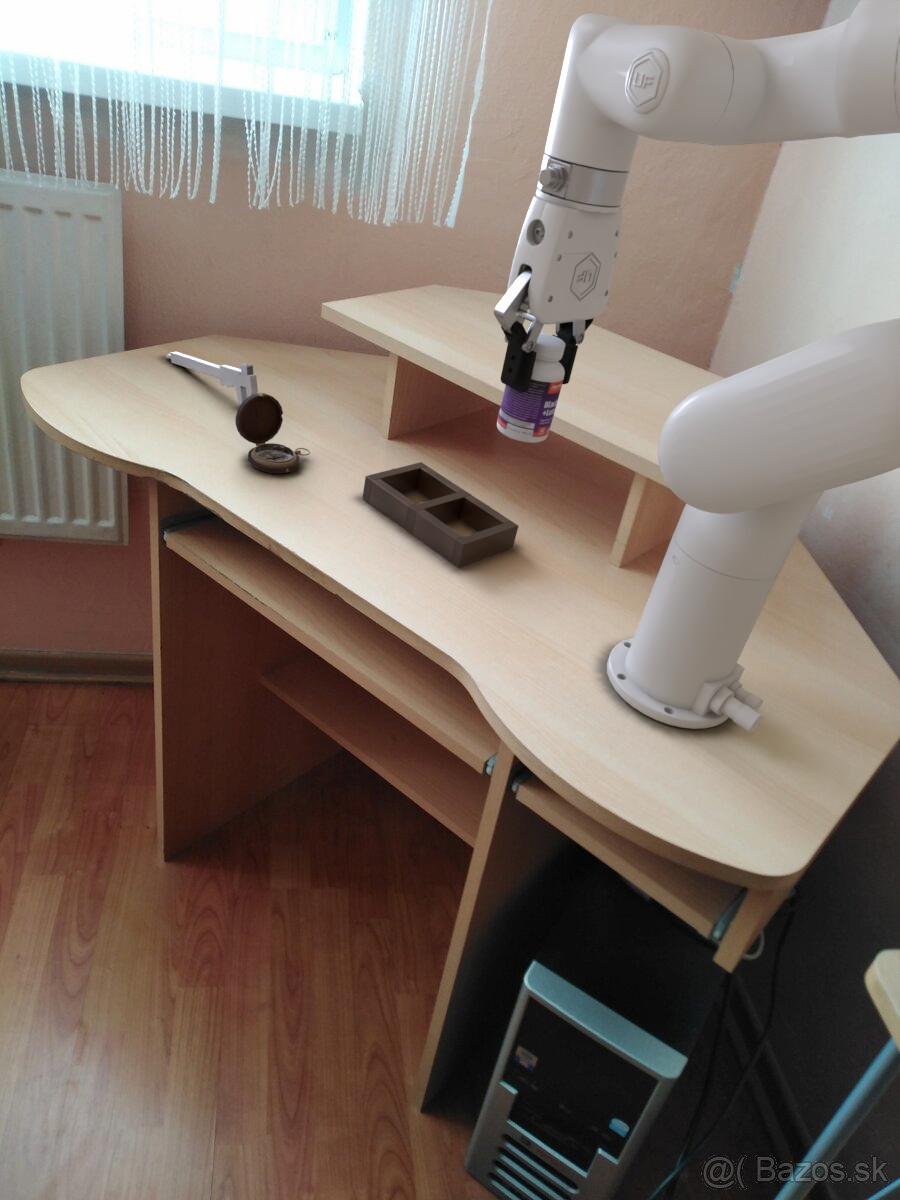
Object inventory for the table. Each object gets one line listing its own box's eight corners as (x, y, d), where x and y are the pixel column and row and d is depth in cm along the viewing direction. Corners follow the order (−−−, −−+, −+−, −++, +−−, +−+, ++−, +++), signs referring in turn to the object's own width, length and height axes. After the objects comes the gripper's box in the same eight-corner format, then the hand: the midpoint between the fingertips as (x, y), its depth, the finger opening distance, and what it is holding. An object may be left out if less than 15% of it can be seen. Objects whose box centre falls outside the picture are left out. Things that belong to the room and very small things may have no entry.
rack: (512, 547, 102) (518, 525, 100) (458, 568, 96) (463, 544, 95) (417, 483, 111) (421, 461, 109) (362, 498, 105) (365, 475, 103)
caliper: (256, 413, 118) (259, 368, 115) (250, 415, 118) (252, 370, 114) (171, 357, 129) (172, 314, 125) (165, 358, 128) (165, 315, 124)
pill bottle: (544, 449, 88) (570, 354, 82) (491, 435, 88) (513, 340, 83) (550, 429, 92) (575, 338, 87) (500, 415, 93) (521, 324, 87)
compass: (264, 479, 104) (269, 421, 100) (231, 449, 109) (234, 393, 105) (322, 468, 109) (328, 413, 105) (288, 440, 114) (293, 386, 110)
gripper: (550, 195, 70) (503, 410, 80) (670, 197, 81) (615, 386, 91) (483, 171, 74) (446, 379, 84) (606, 176, 85) (560, 360, 95)
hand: (534, 381), depth 87 cm, fingers closed on pill bottle, 5 cm apart
